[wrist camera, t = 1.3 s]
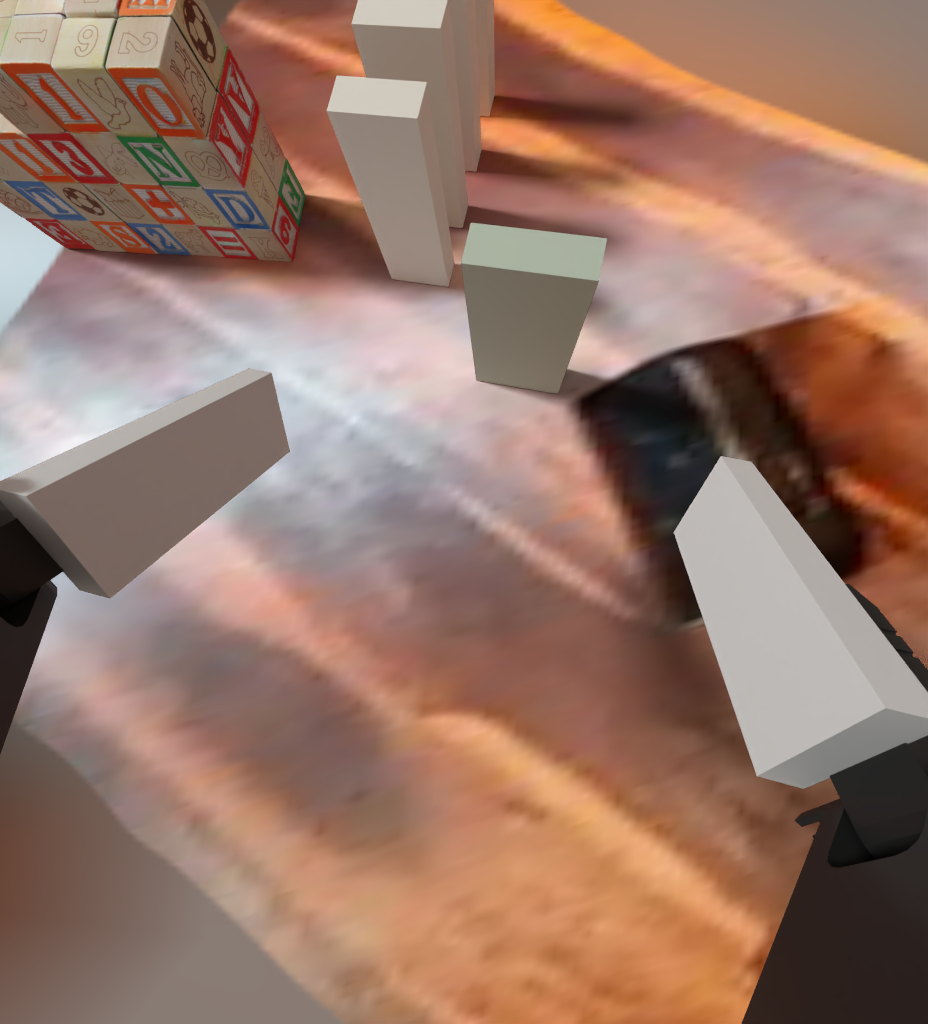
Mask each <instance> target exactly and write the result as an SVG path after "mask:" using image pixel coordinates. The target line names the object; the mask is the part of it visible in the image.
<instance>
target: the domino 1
mask: <svg viewBox="0 0 928 1024" xmlns="http://www.w3.org/2000/svg"><path fill="white" fill-rule="evenodd" d="M352 28H353V31H354V35H355V39H356V42H357V46H358V49H359V53H360V56H361V60H362V64H363V67H364V71H365V74H366V78H377V79H391V80H405V81H419V82H427V86H428V93H429V99H430V106H431V113H432V119H433V126H434V132H435V139H436V146H437V152H438V159H439V165H440V172H441V179H442V185H443V192H444V198H445V205H446V212H447V218H448V225H449V227H456V228H463V225H464V221H465V216H466V212H467V208H468V198H467V187H466V176H465V164H464V153H463V142H462V131H461V119H460V108H459V97H458V86H457V74H456V63H455V52H454V41H453V29H452V18H451V7H450V0H358V3H357V6H356V10H355V13H354V17H353V20H352Z"/></svg>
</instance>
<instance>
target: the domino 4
mask: <svg viewBox="0 0 928 1024" xmlns="http://www.w3.org/2000/svg"><path fill="white" fill-rule="evenodd" d="M475 7H476V30H477V53H478V77H479V100H480V116H486V117H489V116H490V112H491V108H492V104H493V100H494V96H495V89H494V0H475Z"/></svg>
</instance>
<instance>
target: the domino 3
mask: <svg viewBox="0 0 928 1024" xmlns="http://www.w3.org/2000/svg"><path fill="white" fill-rule="evenodd" d="M450 7H451V18H452V29H453V41H454V52H455V63H456V74H457V86H458V97H459V108H460V119H461V131H462V142H463V153H464V164H465V171H474V172H476V171H477V167H478V163H479V158H480V154H481V150H482V147H481V123H480V100H479V77H478V53H477V30H476V7H475V0H450Z"/></svg>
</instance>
